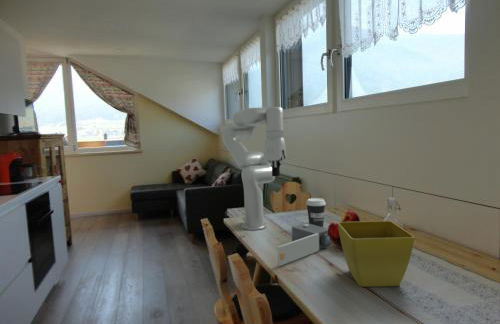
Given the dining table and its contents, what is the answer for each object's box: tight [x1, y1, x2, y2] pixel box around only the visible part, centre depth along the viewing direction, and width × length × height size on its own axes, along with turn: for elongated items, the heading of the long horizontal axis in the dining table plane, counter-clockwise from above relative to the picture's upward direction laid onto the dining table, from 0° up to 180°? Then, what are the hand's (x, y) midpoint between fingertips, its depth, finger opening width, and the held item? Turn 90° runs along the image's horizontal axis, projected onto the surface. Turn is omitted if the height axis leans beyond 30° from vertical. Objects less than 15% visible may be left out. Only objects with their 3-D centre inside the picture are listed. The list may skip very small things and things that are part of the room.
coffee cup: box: [305, 197, 327, 227], centre depth 165 cm, size 10×10×15 cm
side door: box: [277, 233, 320, 267], centre depth 129 cm, size 22×2×7 cm, turn 129°
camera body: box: [291, 222, 332, 251], centre depth 145 cm, size 16×9×8 cm, turn 38°
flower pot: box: [337, 220, 415, 288], centre depth 110 cm, size 19×19×17 cm
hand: (275, 175), depth 151 cm, fingers closed
